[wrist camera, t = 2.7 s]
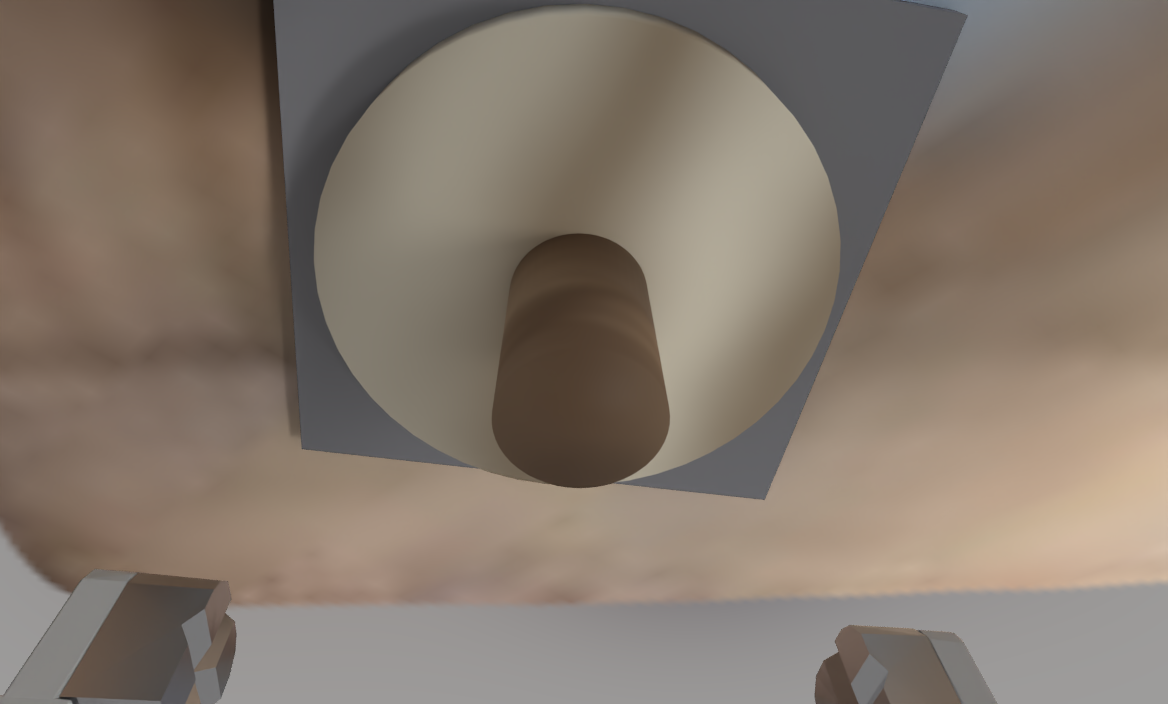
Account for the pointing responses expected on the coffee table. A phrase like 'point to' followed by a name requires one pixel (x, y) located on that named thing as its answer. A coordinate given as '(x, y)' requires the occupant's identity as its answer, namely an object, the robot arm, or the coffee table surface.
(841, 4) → the mat
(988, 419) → the coffee table surface
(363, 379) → the lid
